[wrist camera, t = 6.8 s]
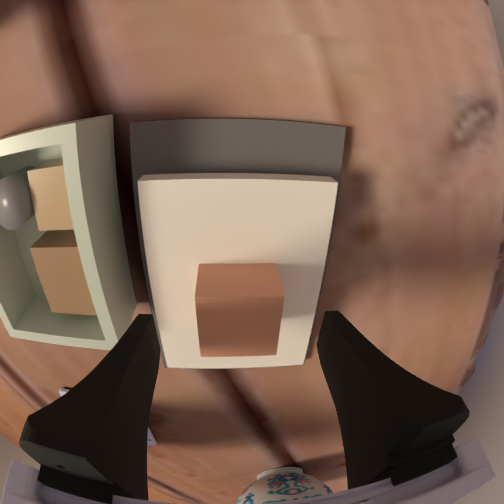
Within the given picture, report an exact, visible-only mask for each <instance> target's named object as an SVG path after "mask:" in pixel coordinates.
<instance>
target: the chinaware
mask: <svg viewBox="0 0 504 504" xmlns="http://www.w3.org/2000/svg"><path fill="white" fill-rule="evenodd" d="M332 493H333V491H332V490H331V489H330V488H329V487H328V486H327V485H326V484H325V483H323V482H322V481H320V480H319V479H317V478H315V477H312V476H310V475H307V474H303V470H302V469H301V468H298V467H282V468H276V469H271V470H267V471H264V472H262V473H260V474H258V476H257V481H255V482H254V483H252V484H251V485H250V486H249V487H247V488H246V489H245V490H244V491H243V493H242V494H241V495H240V497H239V498H238V500H237V502H236V504H263V503H274V502H283V501H291V500H298V499H305V498H311V497H316V496H322V495H327V494H332Z"/></svg>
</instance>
